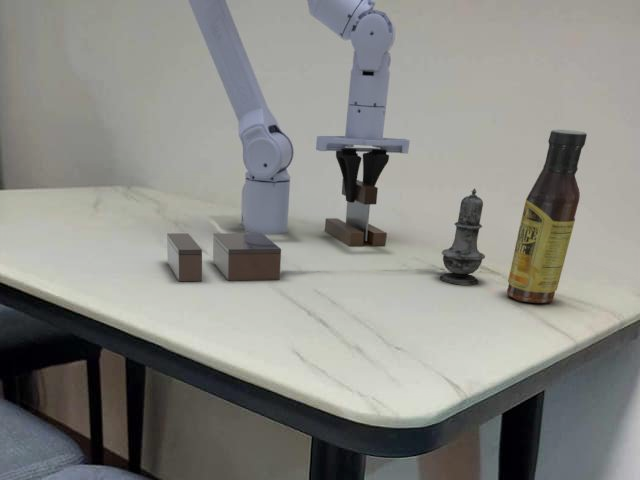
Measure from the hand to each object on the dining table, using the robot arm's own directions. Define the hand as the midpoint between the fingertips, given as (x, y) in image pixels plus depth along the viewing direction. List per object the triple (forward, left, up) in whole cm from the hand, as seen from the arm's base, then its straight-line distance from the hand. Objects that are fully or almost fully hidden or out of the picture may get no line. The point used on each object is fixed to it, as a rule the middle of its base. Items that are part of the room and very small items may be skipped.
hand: (357, 201), depth 116 cm
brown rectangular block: (+16, -30, -7) cm, 35 cm away
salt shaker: (+23, +7, -7) cm, 25 cm away
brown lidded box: (+16, -22, -7) cm, 28 cm away
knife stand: (0, 0, -7) cm, 7 cm away
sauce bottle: (+33, +12, -7) cm, 36 cm away
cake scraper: (0, 0, -5) cm, 5 cm away
